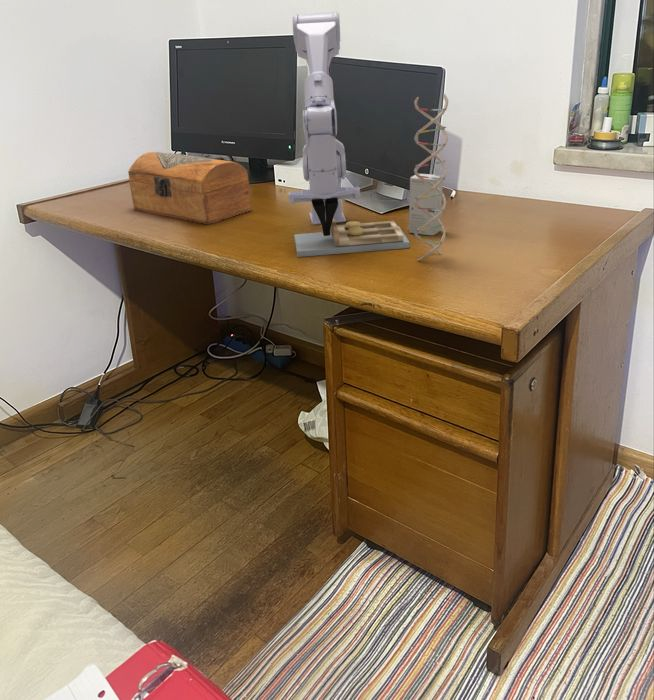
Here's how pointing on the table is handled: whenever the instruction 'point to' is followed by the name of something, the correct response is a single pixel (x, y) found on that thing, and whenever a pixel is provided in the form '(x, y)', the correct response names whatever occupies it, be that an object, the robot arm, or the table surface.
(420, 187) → the skincare box
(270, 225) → the table surface
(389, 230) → the beige flat slatted frame
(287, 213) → the table surface
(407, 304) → the table surface
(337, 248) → the board
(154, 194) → the wooden box
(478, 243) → the table surface
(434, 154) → the dna model
